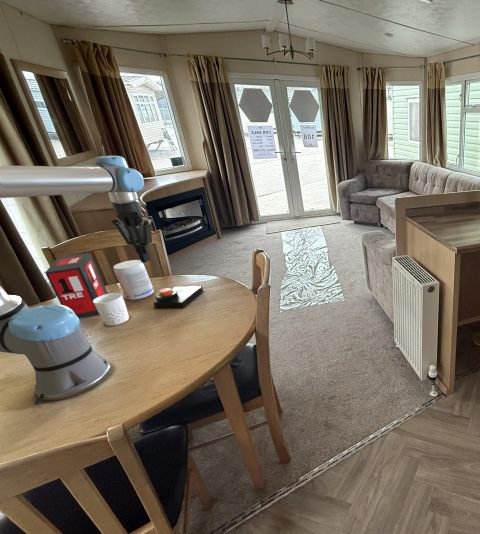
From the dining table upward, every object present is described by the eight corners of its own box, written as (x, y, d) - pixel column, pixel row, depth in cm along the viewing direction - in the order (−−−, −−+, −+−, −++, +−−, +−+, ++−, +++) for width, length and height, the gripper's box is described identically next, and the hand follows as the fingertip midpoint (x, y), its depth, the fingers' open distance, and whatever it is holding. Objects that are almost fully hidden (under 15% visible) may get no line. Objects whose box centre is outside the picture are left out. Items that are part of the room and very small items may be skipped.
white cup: (136, 316, 130) (127, 293, 126) (117, 327, 123) (106, 304, 119) (118, 314, 131) (108, 292, 127) (97, 326, 124) (86, 302, 120)
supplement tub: (158, 289, 150) (147, 258, 144) (147, 299, 142) (135, 267, 136) (133, 291, 148) (121, 260, 142) (120, 301, 140) (106, 269, 134)
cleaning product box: (100, 314, 131) (79, 267, 123) (69, 320, 127) (45, 272, 118) (108, 296, 144) (90, 252, 135) (80, 301, 139) (59, 256, 131)
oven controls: (183, 308, 137) (180, 298, 135) (154, 308, 136) (150, 298, 134) (203, 291, 149) (200, 282, 147) (176, 291, 149) (173, 282, 147)
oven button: (168, 297, 136) (166, 292, 136) (158, 297, 136) (156, 292, 135) (174, 292, 140) (173, 287, 139) (164, 292, 140) (163, 288, 139)
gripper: (151, 199, 125) (170, 257, 135) (114, 198, 124) (136, 257, 134) (136, 203, 118) (156, 265, 128) (97, 203, 118) (120, 264, 127)
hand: (146, 261), depth 131 cm, fingers closed
